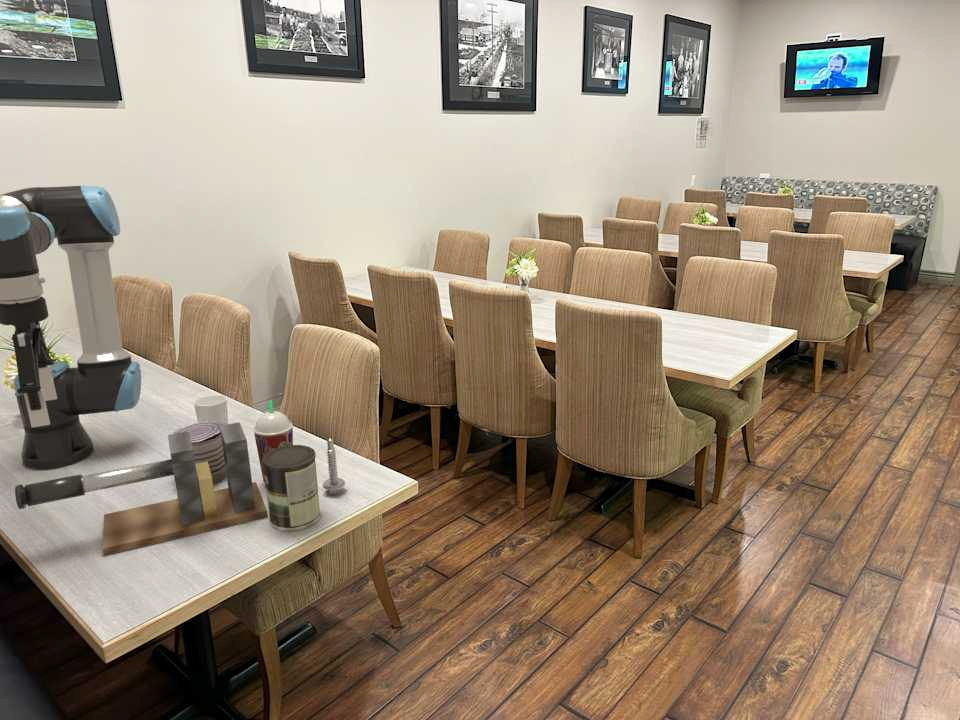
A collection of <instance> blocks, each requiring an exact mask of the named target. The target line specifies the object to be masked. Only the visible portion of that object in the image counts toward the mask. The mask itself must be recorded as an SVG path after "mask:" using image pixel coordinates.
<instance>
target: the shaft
mask: <svg viewBox="0 0 960 720" xmlns="http://www.w3.org/2000/svg"><path fill="white" fill-rule="evenodd" d="M172 476H174V472H173V466H172V460H171V458H169V459H165V460H160V461H155V462H149V463H144V464H140V465H133V466H128V467H123V468H118V469H113V470H108V471H107V470H106V471H102V472H96V473H93V474H87V475H83V474H81V473H80V474H75V475H70V476H65V477H59V478H55V479H49V480H45V481H44V480H43V481H40V482H39V481H38V482H33V483H28V484H25V485H23V484H18V485H15V488H14V495H15V501H16V504H17V508H18V509H19V510H22V509H23V510H24V509H26V508H27V506H28V507H32V506H37V505H42V504H47V503H52V502H53V503H54V502H57V501H62V500H63V501H64V500H67V499H72V498H73V499H74V498H77V497H82V496H85V495H86V493H91V492H96V491H101V490H107V489H110V488H111V489H112V488H117V487H122V486H126V485H130V484H135V483H140V482H141V483H142V482H145V481H150V480H157V479H161V478H162V479H163V478H166V477H172Z"/></svg>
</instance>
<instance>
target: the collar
mask: <svg viewBox="0 0 960 720" xmlns="http://www.w3.org/2000/svg"><path fill="white" fill-rule="evenodd" d="M195 466H196V473H197V479H198V486H199V492H200V499H201V505H202V509H203V514H204V518H208V517H212V516H216V515H217V508H216V501H215V495H214V491H215V489H214V485H213V481H212V476H211V472H210V468H209V465H208V461H207V462H202V463H197V464H195Z"/></svg>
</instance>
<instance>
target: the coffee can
mask: <svg viewBox="0 0 960 720" xmlns="http://www.w3.org/2000/svg"><path fill="white" fill-rule="evenodd" d="M262 463H263V468H264V476H265V482H264V484H265V490H266V499H267V508H268V509H267V510H268V518H269V524H270V526H271V527H272V528H273V529H276V530H279V531H283V532H284V531H285V532H295V531H300V530H304V529H306V528H309V527H311V526H313V525H314V524H316V523H317V522H318V521H319V520H320V518H321V509H320V507H321V505H320V497H319V496H320V495H319V487H318V475H317V464H316V463H317V462H316V451H315V449H313V448H312V447H311V446H308V445H304V444H303V445H302V444H293V445H288V446H282V447H278V448H275V449H273V450H271V451H269V452H267V453H266V454H265V455H264V456H263V458H262Z"/></svg>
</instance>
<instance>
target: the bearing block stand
mask: <svg viewBox="0 0 960 720" xmlns="http://www.w3.org/2000/svg"><path fill="white" fill-rule="evenodd" d="M220 433H221V440H222V447H223V454H224V461H225V468H226V475H227V478H226V481H227V487H225V488H221V489H216V490H214V495H215V501H216V508H217V515H216V516H212V517H208V518H204V514H203V509H202V505H201V499H200V492H199V486H198V479H197V473H196V466H195V460H194V453H193V448H192V443H191V439H190V434H189V431H187V432H182V433H176V434H173V433H172V434H167V441H168V446H169V453H170V459H171V460H172V466H173V472H174V475H173V476H174V483H175V489H176V496H177V498H174V499H171V500H165V501H160V502H156V503H151V504H148V505H147V504H146V505H141V506H136V507H133V508H128V509H123V510H118V511H114V512H109V513H105V514H103V527H102V528H103V529H102V547H101V550H102V555H103V556H105V557H106V556H108V555H113V554H119V553H122V552H126V551H130V550H135V549H138V548H139V549H140V548H142V547H147V546H150V545H151V546H152V545H155V544H159V543H163V542H168V541H172V540H176V539H181V538H184V537H190V536H193V535H197V534H201V533H205V532H206V533H207V532H211V531H215V530H219V529H224V528H227V527H230V526H232V527H233V526H235V525H238V524H244V523H247V522H252V521H256V520H261V519H265V518H269V512H268V509H267V506H266V504H265V502H264V499H263V496H262V494H261V492H260V489H259V487H258V484H257V482H256V481H254V482H253V479H252V470H251V464H250V463H251V461H250V455H249V449H248V447H249V446H248V440H247V437H246V434H245V432H244V430H243V428H242V424H241V422H239V421H238V422H233V423H228V424H227V425H221V426H220Z"/></svg>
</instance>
